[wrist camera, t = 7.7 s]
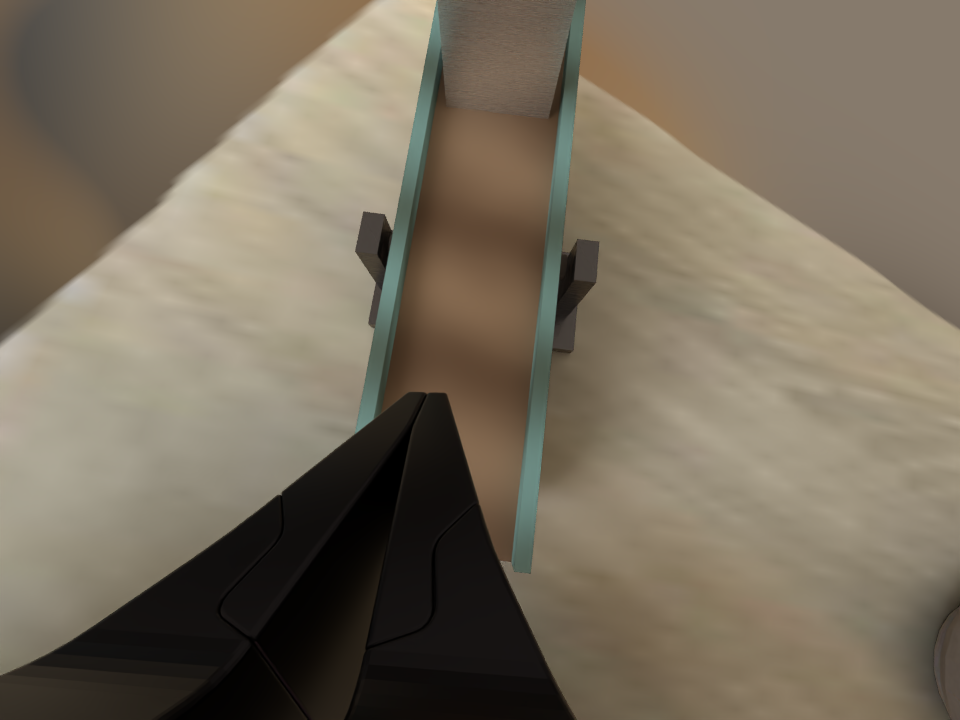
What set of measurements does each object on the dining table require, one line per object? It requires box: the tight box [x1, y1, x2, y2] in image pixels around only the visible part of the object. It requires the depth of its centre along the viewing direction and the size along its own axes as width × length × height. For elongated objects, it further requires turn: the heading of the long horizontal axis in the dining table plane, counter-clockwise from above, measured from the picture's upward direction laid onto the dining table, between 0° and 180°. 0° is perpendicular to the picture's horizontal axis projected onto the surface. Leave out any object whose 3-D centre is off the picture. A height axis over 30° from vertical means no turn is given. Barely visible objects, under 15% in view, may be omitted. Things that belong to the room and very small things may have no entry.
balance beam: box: [355, 0, 586, 574], centre depth 18 cm, size 26×8×5 cm, turn 173°
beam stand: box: [355, 212, 599, 353], centre depth 20 cm, size 6×12×6 cm, turn 83°
